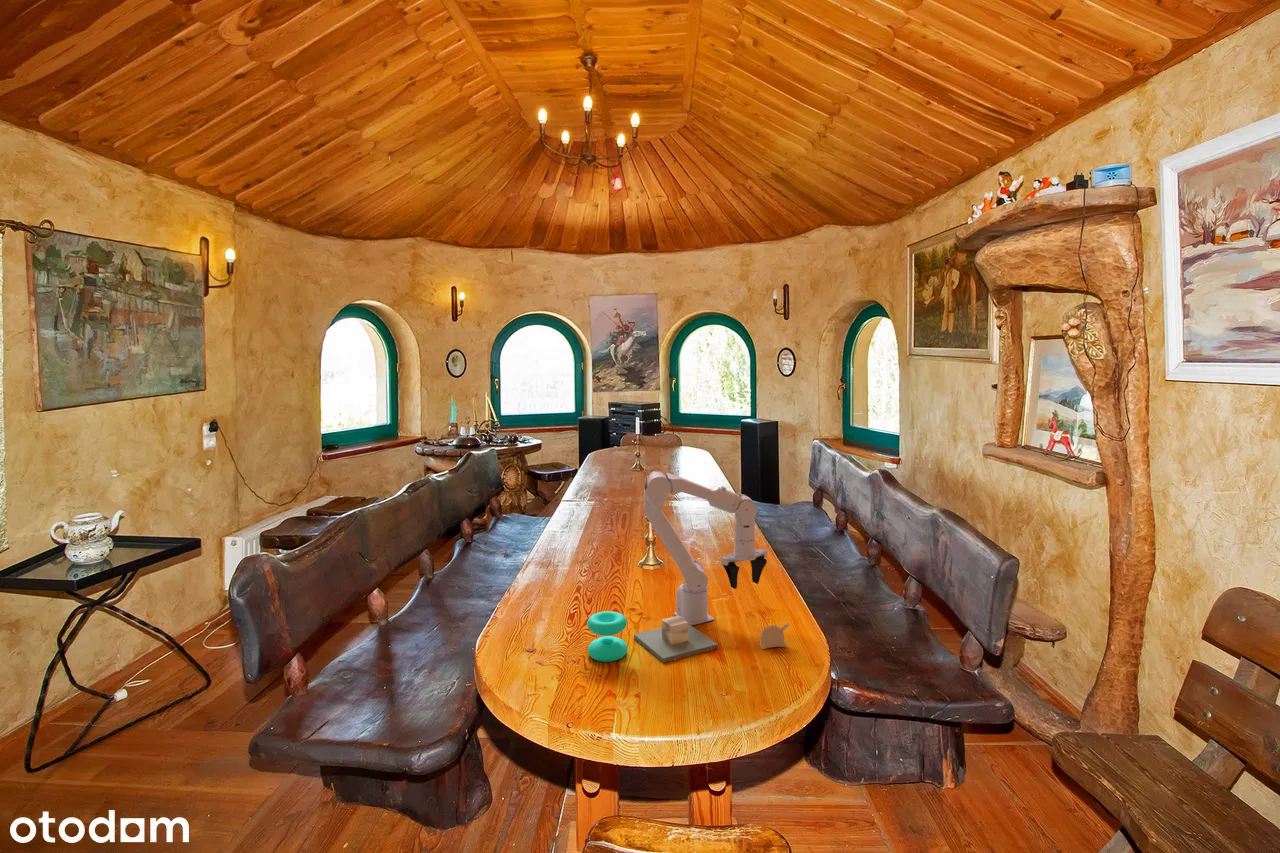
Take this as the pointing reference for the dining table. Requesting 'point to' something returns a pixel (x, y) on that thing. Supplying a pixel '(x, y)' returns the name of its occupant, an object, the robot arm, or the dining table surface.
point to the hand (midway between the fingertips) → (744, 585)
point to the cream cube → (674, 630)
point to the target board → (670, 652)
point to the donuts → (607, 636)
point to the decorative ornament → (773, 636)
